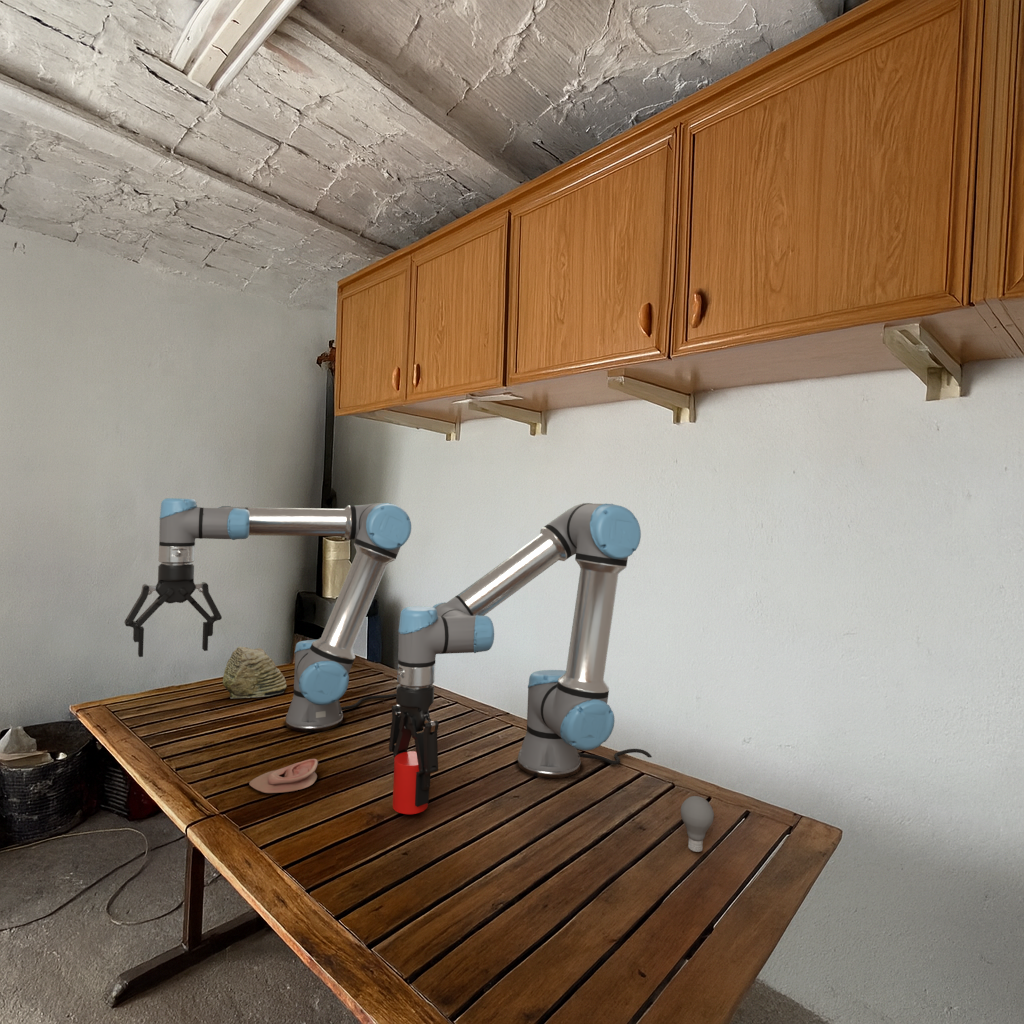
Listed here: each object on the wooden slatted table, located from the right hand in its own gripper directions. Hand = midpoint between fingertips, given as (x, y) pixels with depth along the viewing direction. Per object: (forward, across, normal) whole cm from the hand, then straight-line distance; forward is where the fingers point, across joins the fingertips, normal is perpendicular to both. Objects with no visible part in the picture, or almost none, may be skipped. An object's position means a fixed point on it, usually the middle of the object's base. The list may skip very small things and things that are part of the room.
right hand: (411, 796), depth 128 cm
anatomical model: (+4, -28, -15) cm, 32 cm away
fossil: (+4, -92, +2) cm, 92 cm away
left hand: (-21, -57, -30) cm, 68 cm away
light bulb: (+4, +44, +35) cm, 56 cm away
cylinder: (+2, 0, 0) cm, 2 cm away
